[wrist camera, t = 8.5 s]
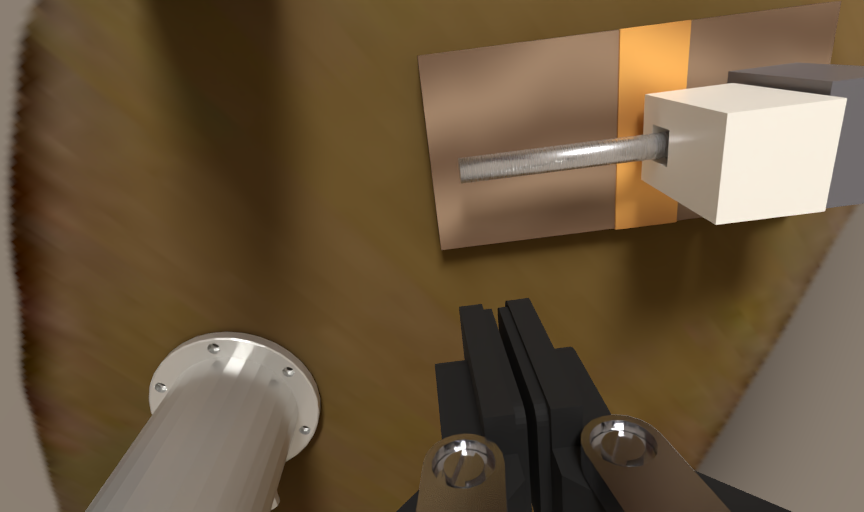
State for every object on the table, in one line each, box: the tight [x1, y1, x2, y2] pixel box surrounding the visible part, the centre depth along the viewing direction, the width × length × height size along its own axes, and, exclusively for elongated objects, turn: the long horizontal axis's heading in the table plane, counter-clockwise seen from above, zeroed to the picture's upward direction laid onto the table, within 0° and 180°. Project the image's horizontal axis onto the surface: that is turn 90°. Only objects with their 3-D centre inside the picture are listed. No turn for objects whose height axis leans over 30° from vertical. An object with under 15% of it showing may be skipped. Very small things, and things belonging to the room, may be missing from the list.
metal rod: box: [458, 131, 669, 184], centre depth 28 cm, size 1×16×1 cm, turn 97°
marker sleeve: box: [641, 83, 847, 225], centre depth 26 cm, size 5×5×8 cm
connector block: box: [727, 63, 864, 208], centre depth 27 cm, size 6×4×8 cm, turn 7°
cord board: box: [417, 1, 841, 250], centre depth 32 cm, size 12×24×2 cm, turn 97°
